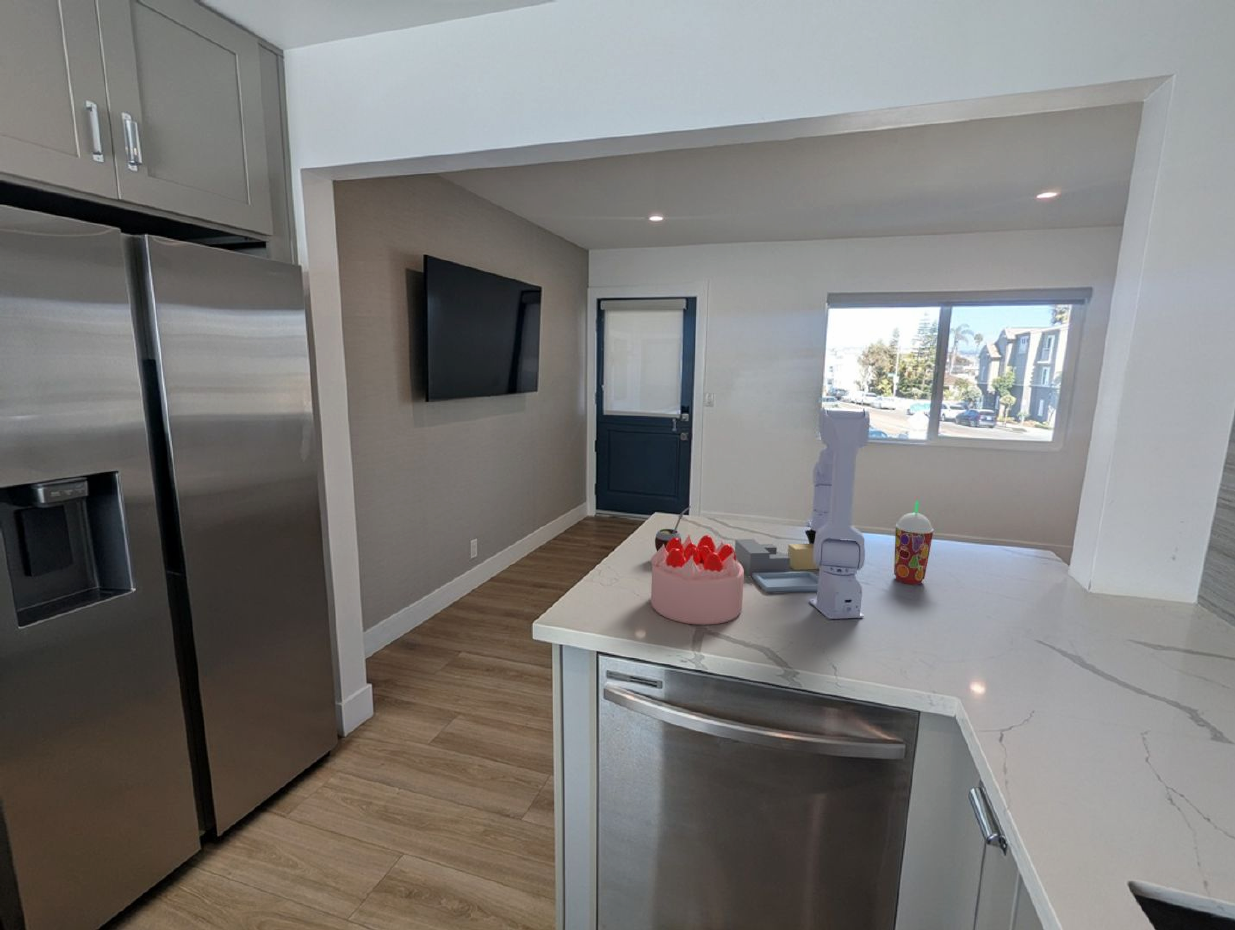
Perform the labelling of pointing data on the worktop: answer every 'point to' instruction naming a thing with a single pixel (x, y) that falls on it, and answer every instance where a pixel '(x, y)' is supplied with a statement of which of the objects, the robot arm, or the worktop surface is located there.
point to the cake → (697, 582)
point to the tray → (787, 581)
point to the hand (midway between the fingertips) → (820, 560)
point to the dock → (760, 557)
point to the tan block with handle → (801, 556)
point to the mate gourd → (667, 534)
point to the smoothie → (912, 547)
